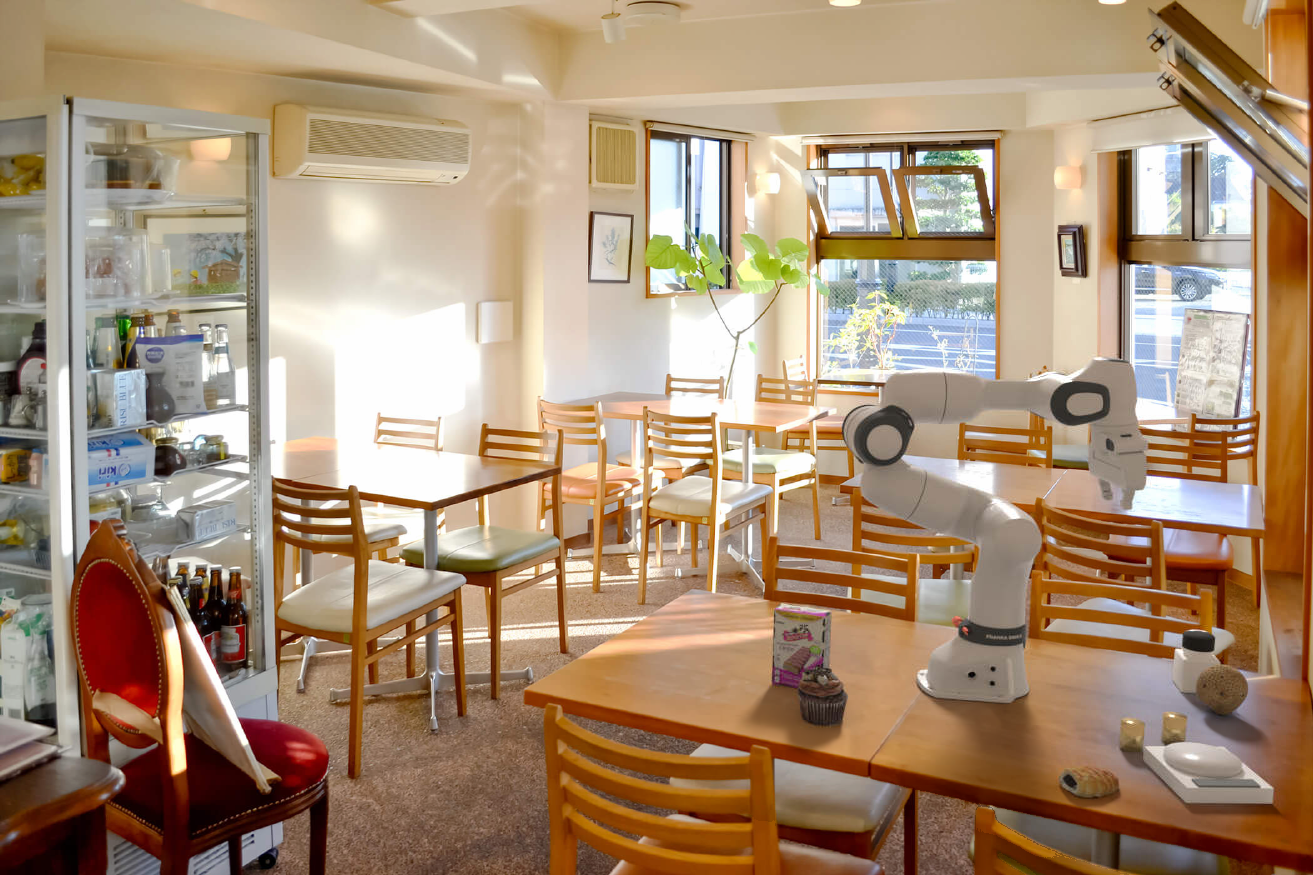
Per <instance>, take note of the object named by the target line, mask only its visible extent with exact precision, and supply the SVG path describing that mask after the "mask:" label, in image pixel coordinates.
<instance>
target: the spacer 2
mask: <svg viewBox="0 0 1313 875" xmlns="http://www.w3.org/2000/svg"><path fill="white" fill-rule="evenodd" d="M1187 721H1188V716H1187V715H1185V714H1183V713H1180V712H1176V711H1164V712H1163V713H1162V721H1161V722H1162V724H1161V725H1162V726H1161V735H1160V736H1161V737H1160V739H1161V740H1160V741H1161V742H1162V743H1163V744H1165V745H1166V746H1167V745H1169V744H1173V743H1179V742H1186V738H1187V737H1186V735H1187V726H1188V725H1187V724H1188V723H1187Z"/></svg>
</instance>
